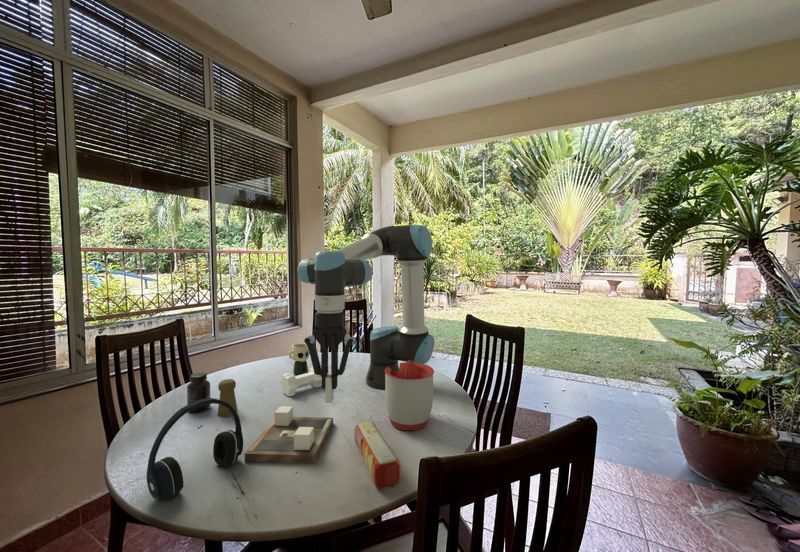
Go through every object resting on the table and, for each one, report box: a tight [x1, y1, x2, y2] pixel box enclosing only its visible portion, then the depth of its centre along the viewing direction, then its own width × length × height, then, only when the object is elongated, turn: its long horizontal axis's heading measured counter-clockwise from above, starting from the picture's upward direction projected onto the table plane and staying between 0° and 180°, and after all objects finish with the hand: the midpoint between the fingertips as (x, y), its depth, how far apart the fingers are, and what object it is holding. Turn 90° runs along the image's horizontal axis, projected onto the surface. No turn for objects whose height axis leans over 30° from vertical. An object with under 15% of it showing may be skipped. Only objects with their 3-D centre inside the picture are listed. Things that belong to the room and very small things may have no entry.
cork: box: [217, 378, 238, 418], centre depth 111 cm, size 6×6×11 cm
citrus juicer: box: [384, 360, 435, 431], centre depth 106 cm, size 16×17×20 cm
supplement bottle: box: [186, 372, 212, 414], centre depth 114 cm, size 7×7×12 cm
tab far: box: [274, 405, 294, 426], centre depth 101 cm, size 4×4×4 cm
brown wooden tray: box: [244, 416, 334, 464], centre depth 95 cm, size 18×20×2 cm
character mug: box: [288, 342, 310, 376], centre depth 149 cm, size 11×7×13 cm, turn 136°
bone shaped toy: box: [280, 366, 322, 397], centre depth 131 cm, size 15×9×8 cm, turn 136°
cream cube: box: [294, 427, 314, 450], centre depth 88 cm, size 4×4×4 cm
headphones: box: [146, 397, 244, 500], centre depth 78 cm, size 20×7×18 cm, turn 148°
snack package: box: [354, 421, 401, 490], centre depth 85 cm, size 21×7×7 cm, turn 20°
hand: (329, 400), depth 87 cm, fingers closed
